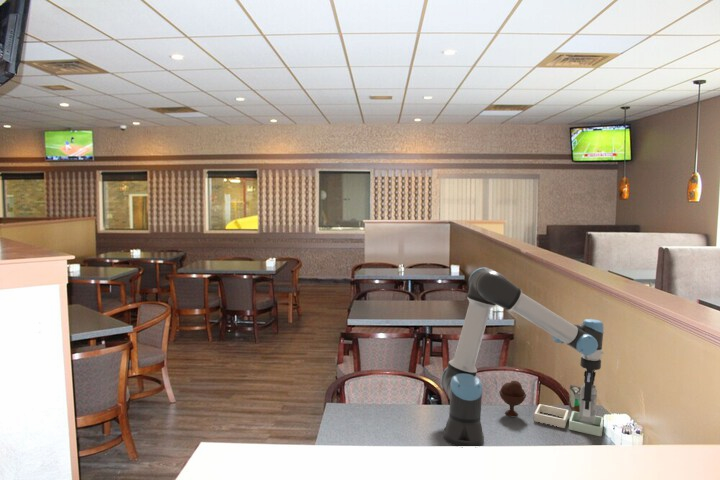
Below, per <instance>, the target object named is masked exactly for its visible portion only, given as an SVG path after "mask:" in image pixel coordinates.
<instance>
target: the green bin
mask: <svg viewBox="0 0 720 480" xmlns="http://www.w3.org/2000/svg"><path fill="white" fill-rule="evenodd" d="M603 420H604V416H599V415H595V422H593V424H585V423H582V422H581V421H580V419H579V412H576V411H572V412H571V414H570V417H569V419H568V421H569V422H568V430H569V431H575V432H579V433H583V434H588V435H592V436H597V437H602V434H603V431H604V429H603V428H604V421H605V420H604V421H603Z"/></svg>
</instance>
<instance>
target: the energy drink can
mask: <svg viewBox="0 0 720 480" xmlns="http://www.w3.org/2000/svg"><path fill="white" fill-rule="evenodd" d="M580 387H581V394H580V409H579V419H580V421H579V422H580V423H585V424H589V425H594V424H593V422H595V416H596V409H597V397H598V390H597V387H596V385H594V384H593V385H592V393H591V412H590V417H585V416H583V404H584V401H583V400H582V399H584V389H585V383H583V384H582V386H580Z"/></svg>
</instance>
